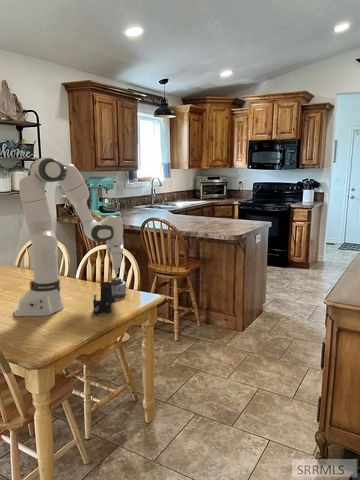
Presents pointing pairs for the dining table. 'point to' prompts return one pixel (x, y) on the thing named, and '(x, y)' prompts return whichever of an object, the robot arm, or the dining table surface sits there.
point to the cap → (116, 281)
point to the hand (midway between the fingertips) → (115, 271)
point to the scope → (104, 299)
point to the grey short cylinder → (119, 290)
